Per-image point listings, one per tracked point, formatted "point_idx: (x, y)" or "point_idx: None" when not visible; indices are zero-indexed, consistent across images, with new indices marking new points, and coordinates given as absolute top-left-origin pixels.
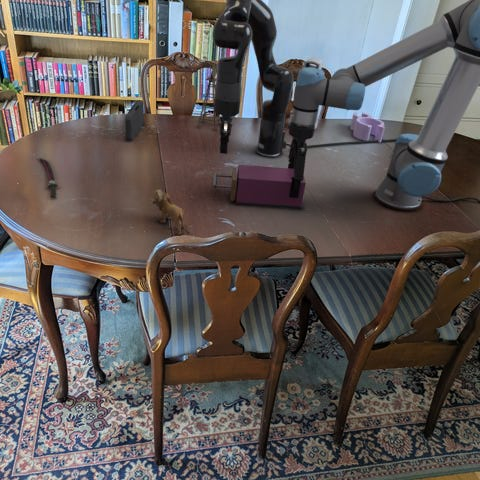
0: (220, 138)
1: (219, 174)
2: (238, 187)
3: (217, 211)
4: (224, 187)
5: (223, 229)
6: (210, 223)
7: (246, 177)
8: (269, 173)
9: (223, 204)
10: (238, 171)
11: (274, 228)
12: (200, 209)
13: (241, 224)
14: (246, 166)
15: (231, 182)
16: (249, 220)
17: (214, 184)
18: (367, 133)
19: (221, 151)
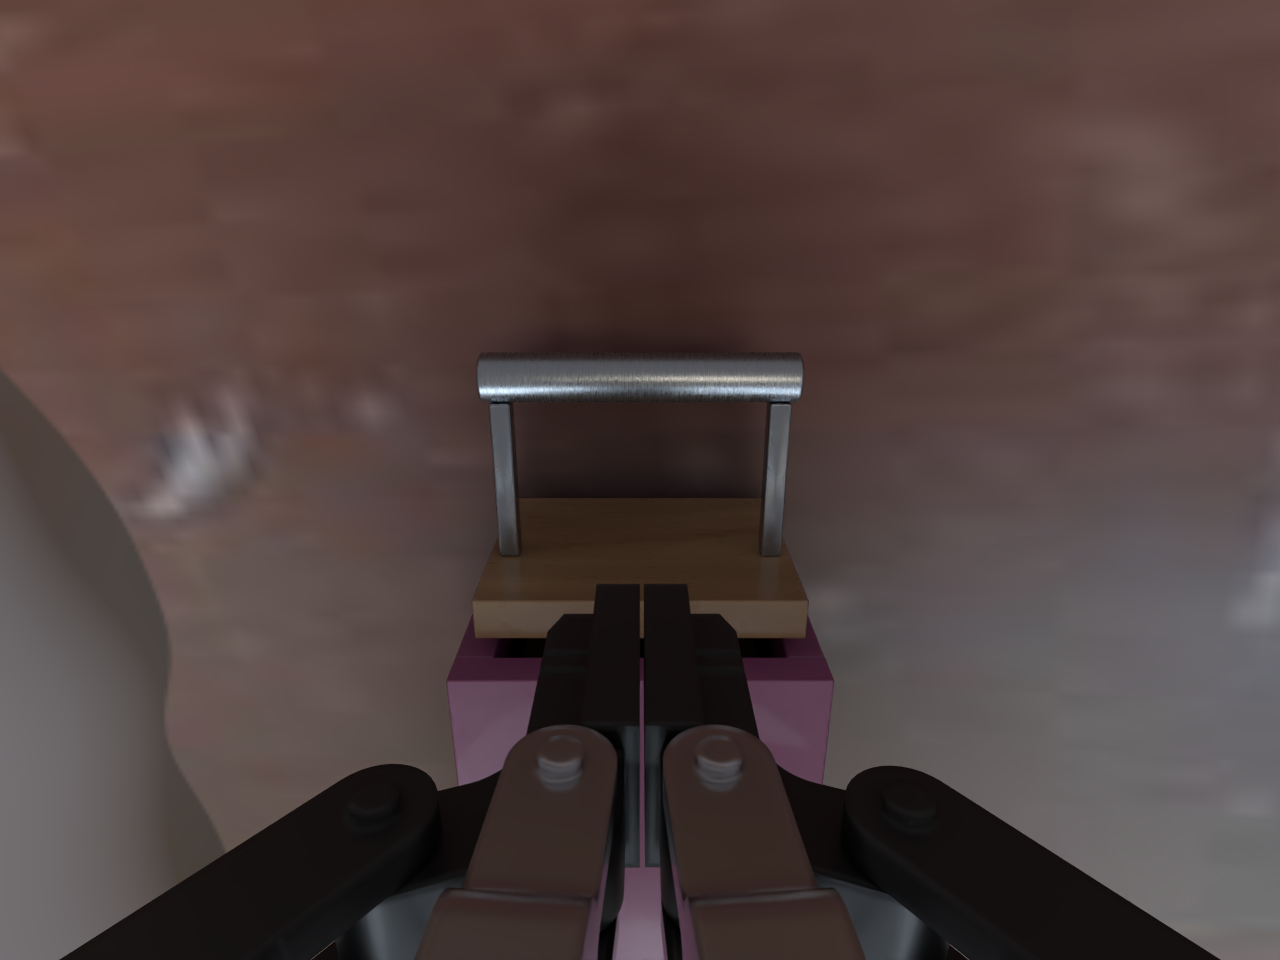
0: (664, 763)
1: (787, 427)
2: (472, 620)
3: (344, 378)
4: (497, 479)
5: (66, 431)
6: (119, 323)
7: (485, 753)
8: (637, 945)
9: (484, 428)
10: (640, 677)
11: (220, 764)
12: (337, 220)
13: (195, 563)
14: (786, 760)
15: (707, 534)
16: (276, 618)
17: (481, 379)
18: None
19: (552, 628)
